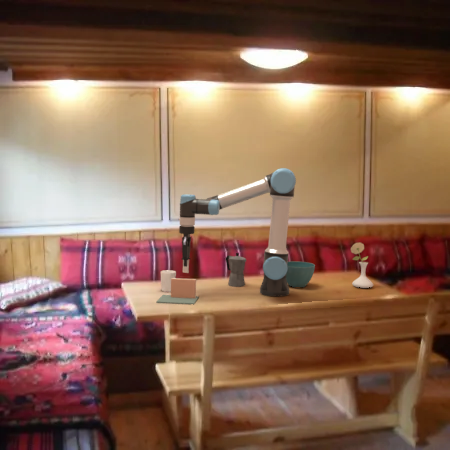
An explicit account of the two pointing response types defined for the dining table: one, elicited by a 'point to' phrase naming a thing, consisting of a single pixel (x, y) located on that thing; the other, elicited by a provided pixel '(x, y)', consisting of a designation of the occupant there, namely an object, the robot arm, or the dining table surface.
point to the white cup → (167, 280)
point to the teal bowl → (299, 273)
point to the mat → (176, 300)
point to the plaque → (183, 288)
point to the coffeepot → (236, 270)
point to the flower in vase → (362, 280)
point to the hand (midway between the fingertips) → (185, 272)
